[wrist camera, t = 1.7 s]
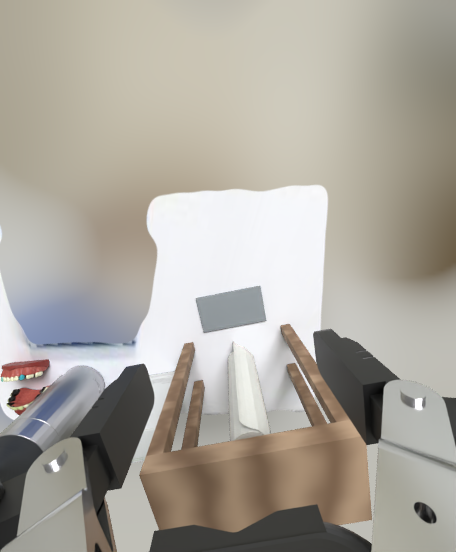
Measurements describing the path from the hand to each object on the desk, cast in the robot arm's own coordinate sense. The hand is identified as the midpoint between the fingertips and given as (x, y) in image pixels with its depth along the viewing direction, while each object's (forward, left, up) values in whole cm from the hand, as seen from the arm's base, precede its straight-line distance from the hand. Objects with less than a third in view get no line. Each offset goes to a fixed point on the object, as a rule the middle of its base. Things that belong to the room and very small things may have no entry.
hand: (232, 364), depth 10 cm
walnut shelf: (-1, -23, -36) cm, 43 cm away
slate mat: (-1, -11, -36) cm, 38 cm away
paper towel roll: (-1, -23, -36) cm, 43 cm away
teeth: (-48, -18, -37) cm, 64 cm away
